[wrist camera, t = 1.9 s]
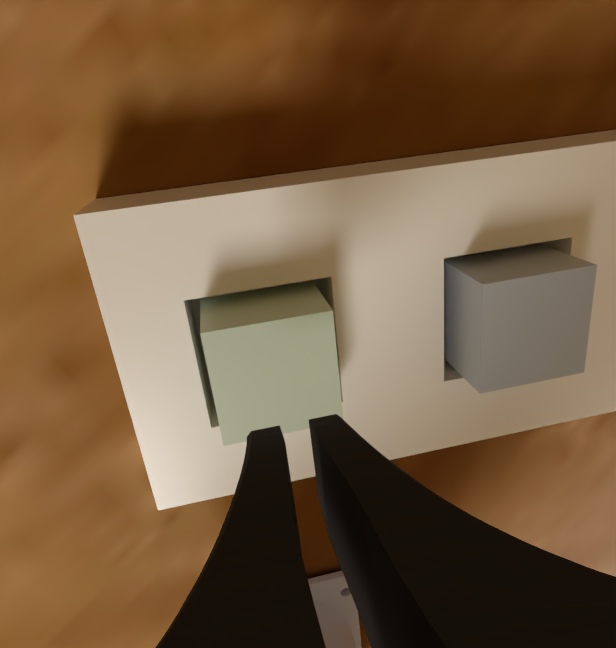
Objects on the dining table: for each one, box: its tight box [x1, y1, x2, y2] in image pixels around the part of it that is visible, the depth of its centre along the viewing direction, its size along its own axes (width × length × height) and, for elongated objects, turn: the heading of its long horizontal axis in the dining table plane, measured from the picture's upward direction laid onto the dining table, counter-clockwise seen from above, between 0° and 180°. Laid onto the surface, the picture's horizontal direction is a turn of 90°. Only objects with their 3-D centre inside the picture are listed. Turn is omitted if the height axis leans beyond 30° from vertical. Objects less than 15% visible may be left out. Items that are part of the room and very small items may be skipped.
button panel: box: [73, 130, 616, 510], centre depth 18 cm, size 10×25×3 cm, turn 96°
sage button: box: [200, 281, 343, 446], centre depth 16 cm, size 4×4×3 cm
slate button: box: [444, 244, 597, 394], centre depth 17 cm, size 4×4×3 cm
